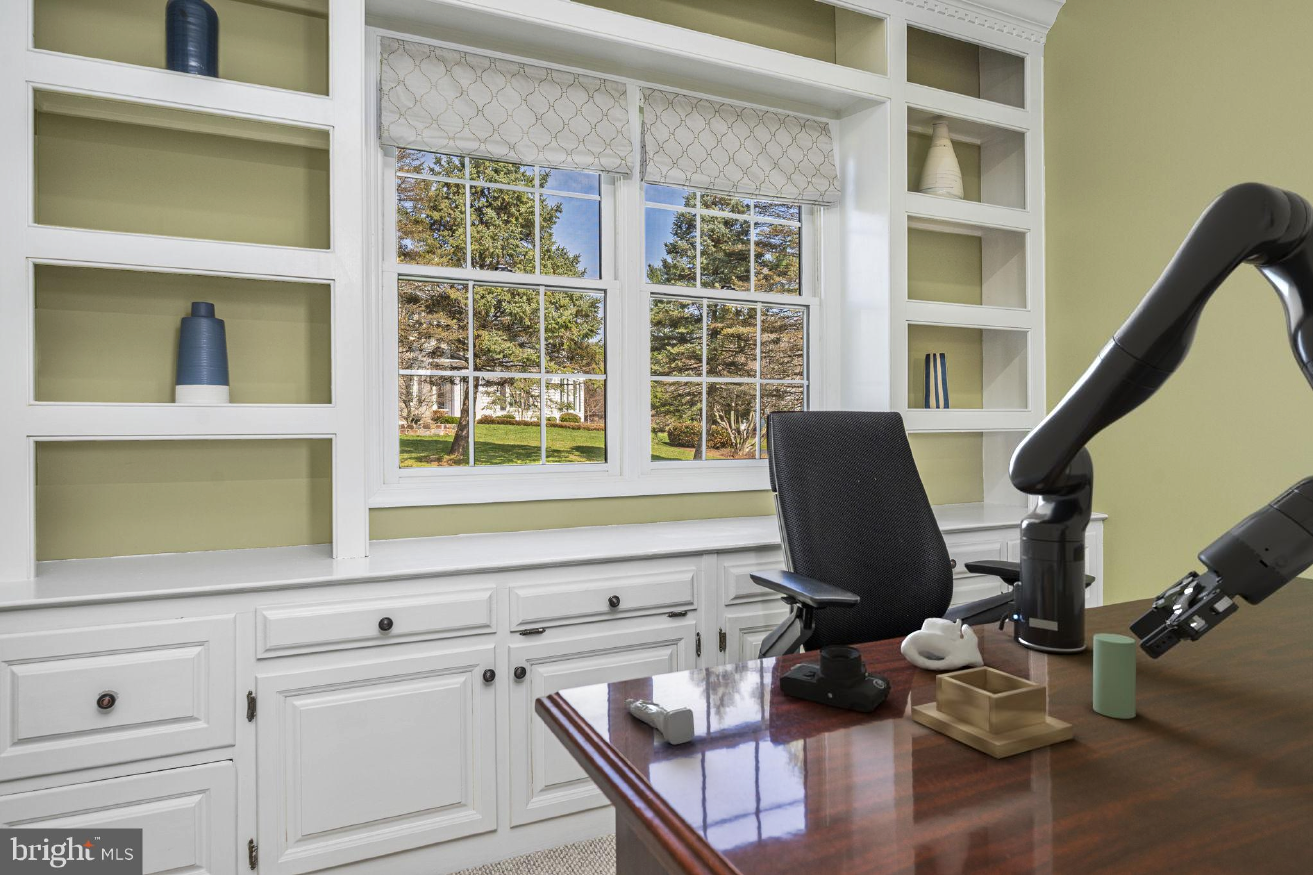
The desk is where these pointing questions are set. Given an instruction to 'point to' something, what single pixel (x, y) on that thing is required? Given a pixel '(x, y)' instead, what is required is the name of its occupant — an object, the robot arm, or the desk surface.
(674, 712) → the figurine
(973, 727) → the display stand
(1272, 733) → the desk surface
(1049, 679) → the desk surface
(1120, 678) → the green tall cylinder
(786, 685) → the film camera
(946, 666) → the white looped sculpture
